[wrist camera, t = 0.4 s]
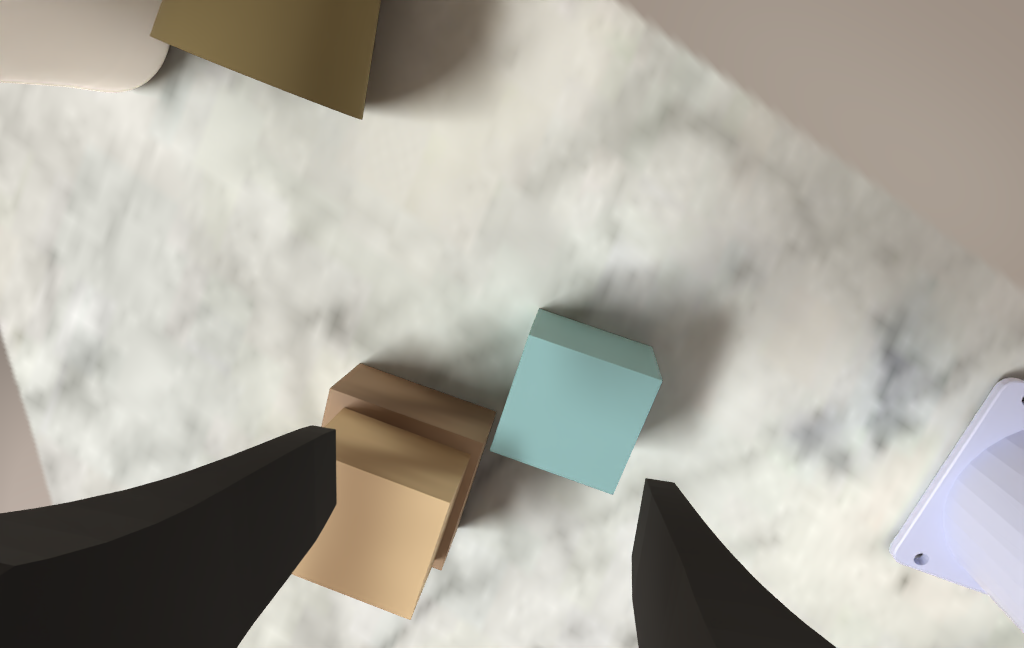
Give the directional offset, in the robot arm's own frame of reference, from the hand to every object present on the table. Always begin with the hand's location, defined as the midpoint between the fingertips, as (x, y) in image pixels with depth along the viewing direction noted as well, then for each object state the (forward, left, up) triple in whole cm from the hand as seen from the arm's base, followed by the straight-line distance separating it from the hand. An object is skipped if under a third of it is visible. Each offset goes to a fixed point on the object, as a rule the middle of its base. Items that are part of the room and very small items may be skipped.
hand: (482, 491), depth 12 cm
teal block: (-2, 0, -10) cm, 10 cm away
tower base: (+4, +6, -10) cm, 12 cm away
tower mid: (+3, +6, -7) cm, 10 cm away
